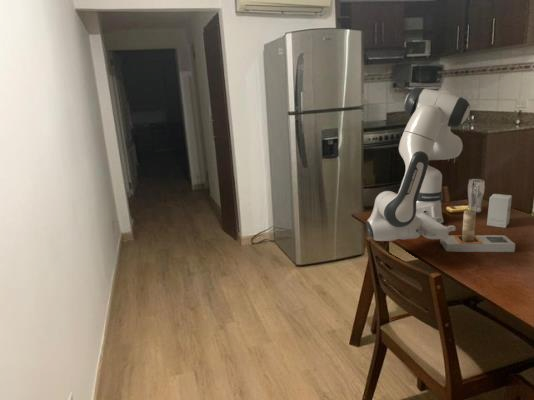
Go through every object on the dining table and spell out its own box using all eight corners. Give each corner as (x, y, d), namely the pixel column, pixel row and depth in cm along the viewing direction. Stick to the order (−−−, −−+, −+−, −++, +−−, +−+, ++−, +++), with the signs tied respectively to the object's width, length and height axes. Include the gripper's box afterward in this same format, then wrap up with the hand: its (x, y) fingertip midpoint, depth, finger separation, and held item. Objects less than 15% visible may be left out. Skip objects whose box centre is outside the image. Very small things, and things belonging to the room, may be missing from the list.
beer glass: (481, 209, 190) (483, 178, 186) (483, 213, 184) (486, 182, 180) (465, 208, 193) (467, 178, 189) (467, 212, 186) (469, 182, 182)
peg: (461, 248, 147) (463, 212, 143) (461, 244, 150) (463, 209, 146) (473, 249, 145) (476, 213, 141) (472, 245, 148) (475, 210, 145)
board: (446, 251, 145) (447, 243, 144) (440, 242, 153) (440, 234, 152) (514, 251, 141) (515, 243, 140) (503, 242, 149) (504, 234, 148)
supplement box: (506, 228, 164) (509, 199, 160) (486, 225, 168) (488, 197, 165) (509, 223, 169) (512, 195, 166) (490, 220, 174) (492, 193, 171)
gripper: (424, 227, 133) (464, 224, 133) (400, 211, 152) (434, 208, 153) (423, 245, 134) (462, 241, 135) (399, 226, 154) (433, 223, 155)
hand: (447, 223), depth 144 cm, fingers open, 8 cm apart
